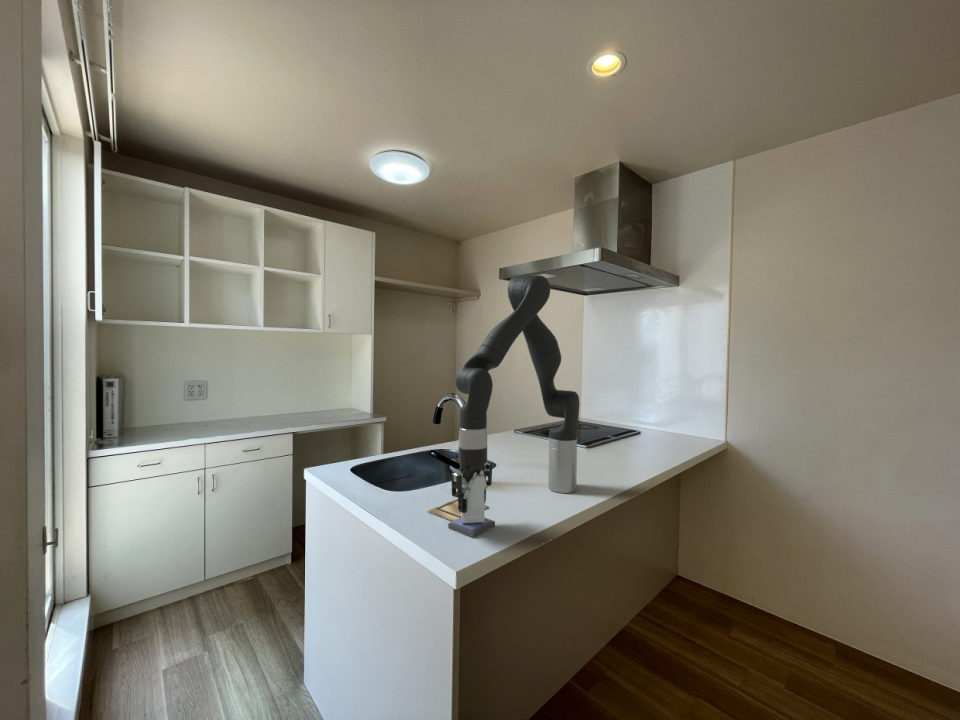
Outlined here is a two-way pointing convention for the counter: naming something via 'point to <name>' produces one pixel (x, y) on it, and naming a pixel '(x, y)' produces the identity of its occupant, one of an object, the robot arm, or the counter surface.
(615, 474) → the counter surface
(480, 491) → the skincare box
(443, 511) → the print sheet
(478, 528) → the ink pad
